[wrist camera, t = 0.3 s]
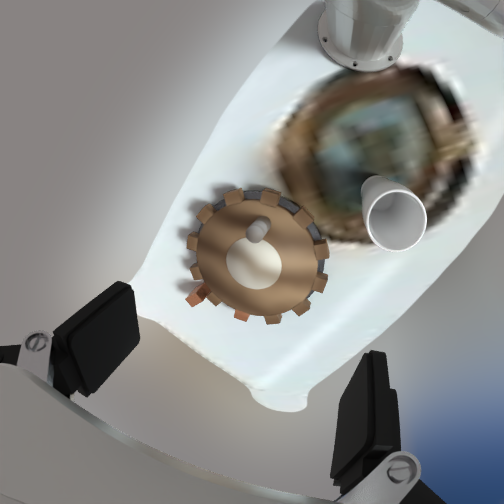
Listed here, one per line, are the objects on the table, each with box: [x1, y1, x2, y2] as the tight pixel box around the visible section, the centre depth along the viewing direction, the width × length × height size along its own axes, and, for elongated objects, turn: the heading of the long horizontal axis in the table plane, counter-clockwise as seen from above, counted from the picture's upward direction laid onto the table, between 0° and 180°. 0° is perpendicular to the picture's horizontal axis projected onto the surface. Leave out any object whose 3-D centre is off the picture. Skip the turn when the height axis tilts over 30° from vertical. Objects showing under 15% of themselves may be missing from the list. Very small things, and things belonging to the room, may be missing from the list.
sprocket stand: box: [185, 191, 325, 307], centre depth 47 cm, size 24×22×4 cm
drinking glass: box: [361, 175, 427, 252], centre depth 32 cm, size 7×7×15 cm
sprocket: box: [187, 188, 329, 325], centre depth 44 cm, size 24×24×7 cm
